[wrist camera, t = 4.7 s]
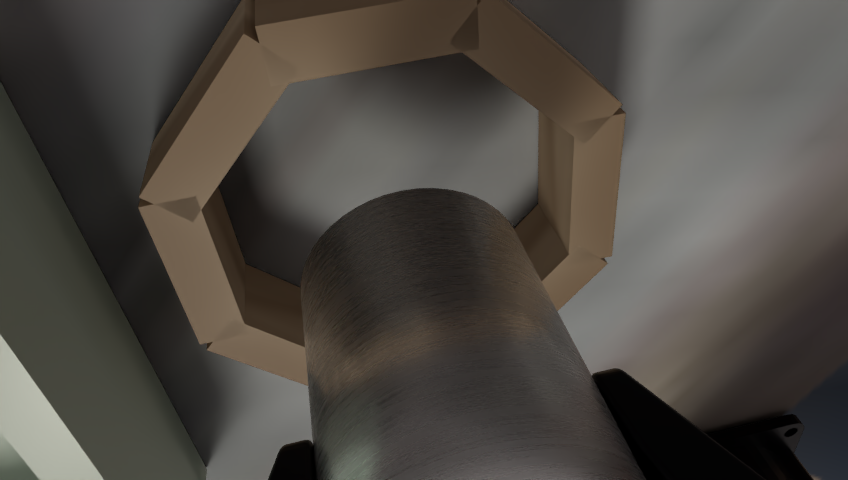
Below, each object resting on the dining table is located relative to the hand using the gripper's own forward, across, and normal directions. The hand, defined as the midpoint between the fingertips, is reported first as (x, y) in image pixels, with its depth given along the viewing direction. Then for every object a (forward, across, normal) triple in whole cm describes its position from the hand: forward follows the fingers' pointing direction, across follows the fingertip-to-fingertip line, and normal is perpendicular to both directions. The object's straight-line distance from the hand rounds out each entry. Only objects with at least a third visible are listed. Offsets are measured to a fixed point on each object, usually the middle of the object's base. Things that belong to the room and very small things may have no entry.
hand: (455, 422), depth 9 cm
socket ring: (+7, 0, 0) cm, 7 cm away
